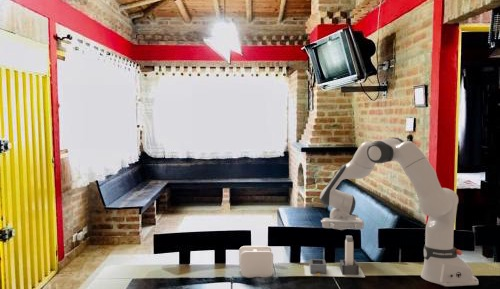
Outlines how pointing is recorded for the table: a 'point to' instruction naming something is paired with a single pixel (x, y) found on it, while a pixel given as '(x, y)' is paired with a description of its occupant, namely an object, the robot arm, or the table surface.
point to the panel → (339, 270)
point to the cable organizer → (256, 261)
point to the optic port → (317, 266)
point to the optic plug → (349, 250)
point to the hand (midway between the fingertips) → (344, 227)
